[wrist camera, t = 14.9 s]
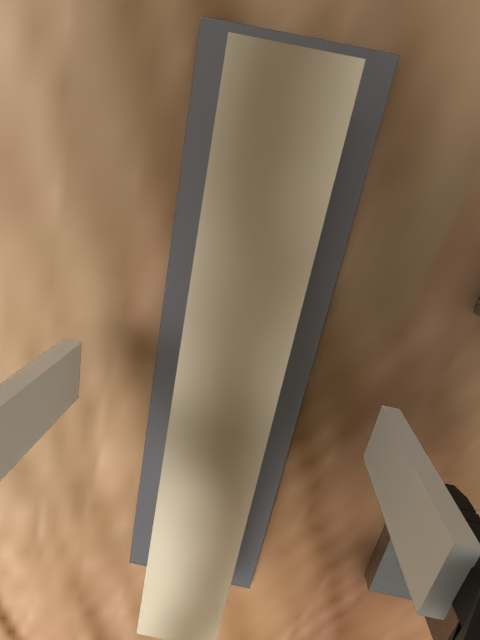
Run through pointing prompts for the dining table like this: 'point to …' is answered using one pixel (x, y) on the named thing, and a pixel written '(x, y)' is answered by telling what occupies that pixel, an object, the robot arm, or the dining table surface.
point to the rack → (402, 577)
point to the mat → (318, 290)
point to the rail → (241, 314)
